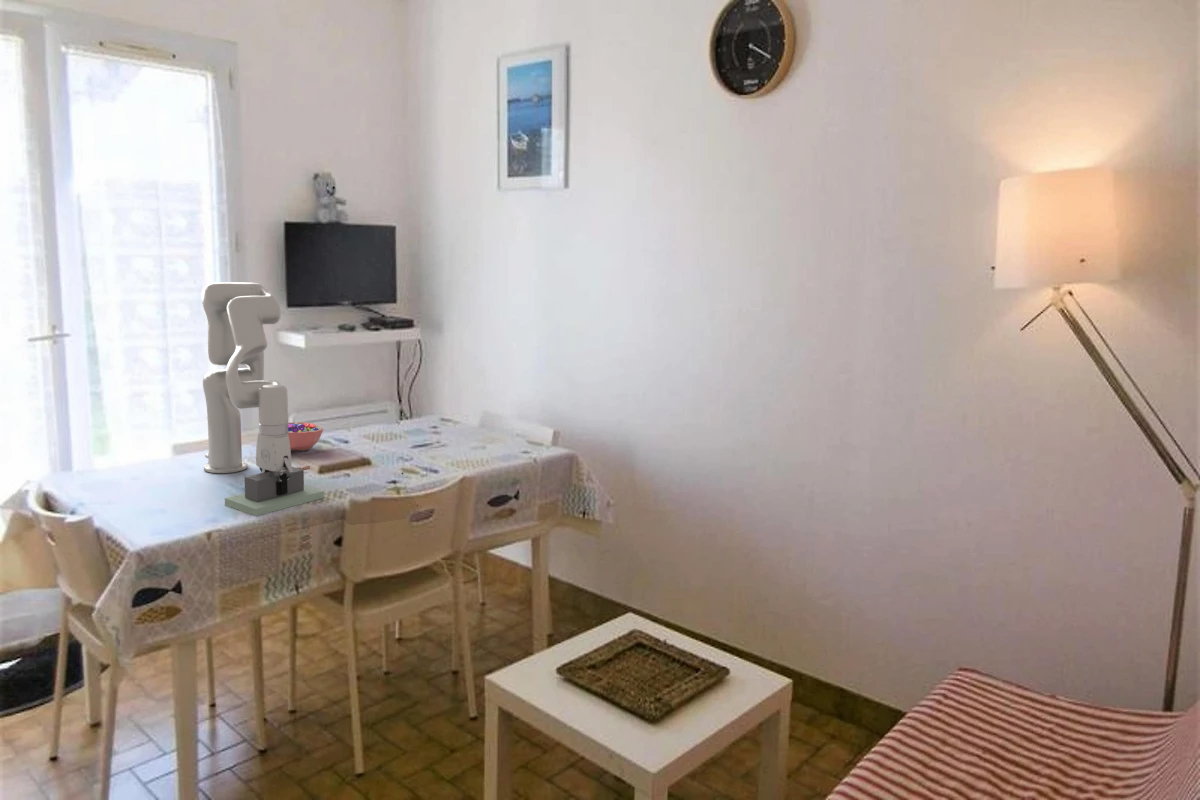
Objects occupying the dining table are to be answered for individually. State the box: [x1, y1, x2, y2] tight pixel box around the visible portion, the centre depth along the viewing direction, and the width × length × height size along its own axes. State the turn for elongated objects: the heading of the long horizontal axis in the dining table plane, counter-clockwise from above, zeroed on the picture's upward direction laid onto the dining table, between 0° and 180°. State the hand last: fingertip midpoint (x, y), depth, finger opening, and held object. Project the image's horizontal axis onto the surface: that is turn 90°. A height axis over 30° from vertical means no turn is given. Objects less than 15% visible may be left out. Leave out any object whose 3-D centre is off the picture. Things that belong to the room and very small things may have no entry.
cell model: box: [288, 422, 324, 452], centre depth 293 cm, size 17×20×11 cm
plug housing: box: [244, 465, 311, 502], centre depth 240 cm, size 6×19×6 cm, turn 146°
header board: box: [224, 484, 325, 517], centre depth 239 cm, size 14×22×6 cm, turn 146°
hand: (275, 491), depth 239 cm, fingers closed on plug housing, 5 cm apart
